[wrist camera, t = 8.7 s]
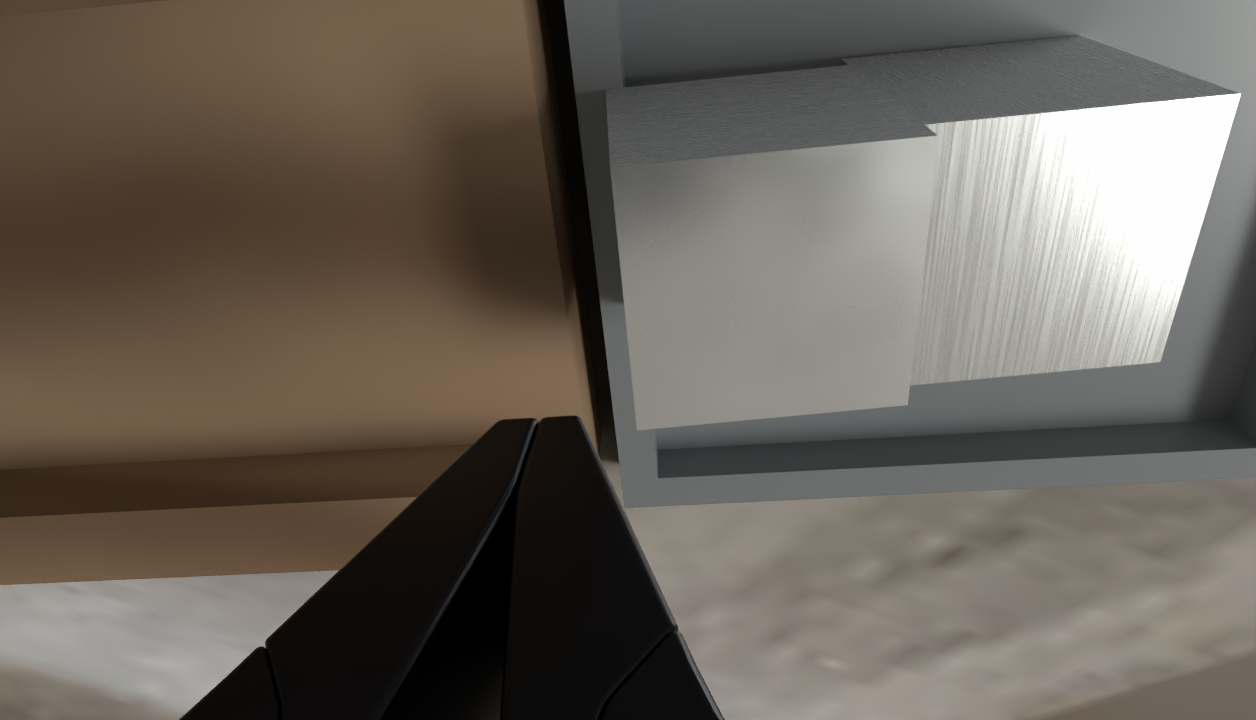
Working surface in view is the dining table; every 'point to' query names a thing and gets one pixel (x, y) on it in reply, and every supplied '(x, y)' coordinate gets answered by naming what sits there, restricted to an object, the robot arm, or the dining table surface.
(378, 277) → the slot block
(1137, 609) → the dining table surface
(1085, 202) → the grey metal cube
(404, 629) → the robot arm
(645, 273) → the brushed metal block
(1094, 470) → the tray
